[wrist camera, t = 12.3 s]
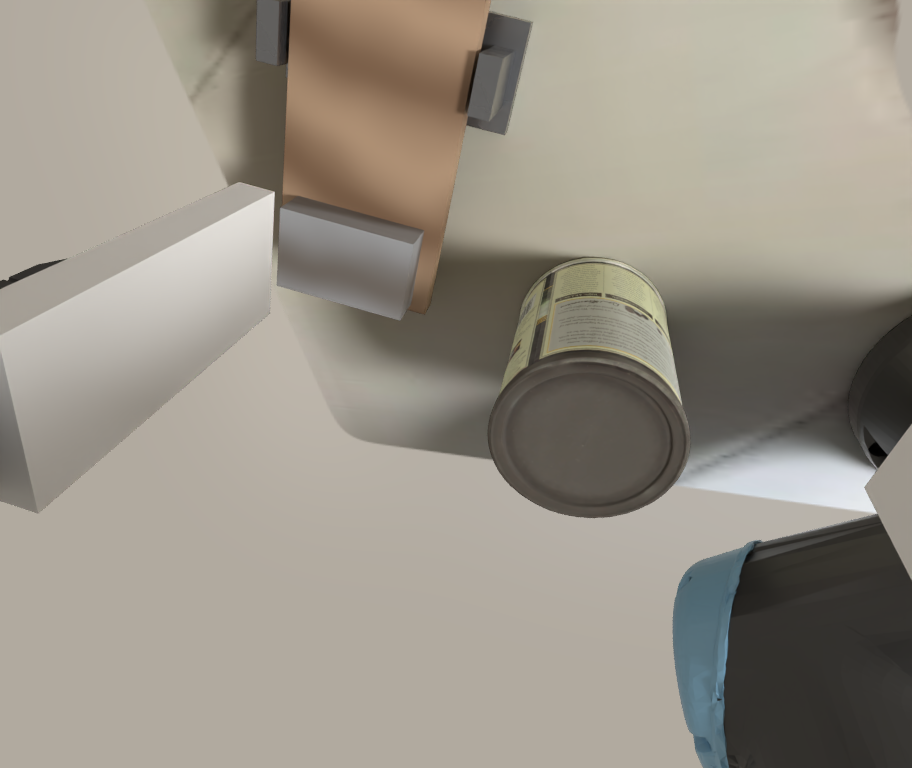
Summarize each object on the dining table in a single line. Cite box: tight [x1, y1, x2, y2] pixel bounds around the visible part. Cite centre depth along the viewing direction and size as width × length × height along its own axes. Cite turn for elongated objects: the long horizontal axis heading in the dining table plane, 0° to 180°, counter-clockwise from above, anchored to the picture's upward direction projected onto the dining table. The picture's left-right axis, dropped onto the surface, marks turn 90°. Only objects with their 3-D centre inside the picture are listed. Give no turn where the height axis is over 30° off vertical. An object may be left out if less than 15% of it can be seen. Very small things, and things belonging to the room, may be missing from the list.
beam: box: [277, 0, 491, 321], centre depth 33 cm, size 28×10×4 cm, turn 168°
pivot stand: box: [256, 0, 533, 135], centre depth 35 cm, size 6×14×6 cm, turn 78°
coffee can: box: [488, 258, 690, 518], centre depth 38 cm, size 10×10×14 cm
